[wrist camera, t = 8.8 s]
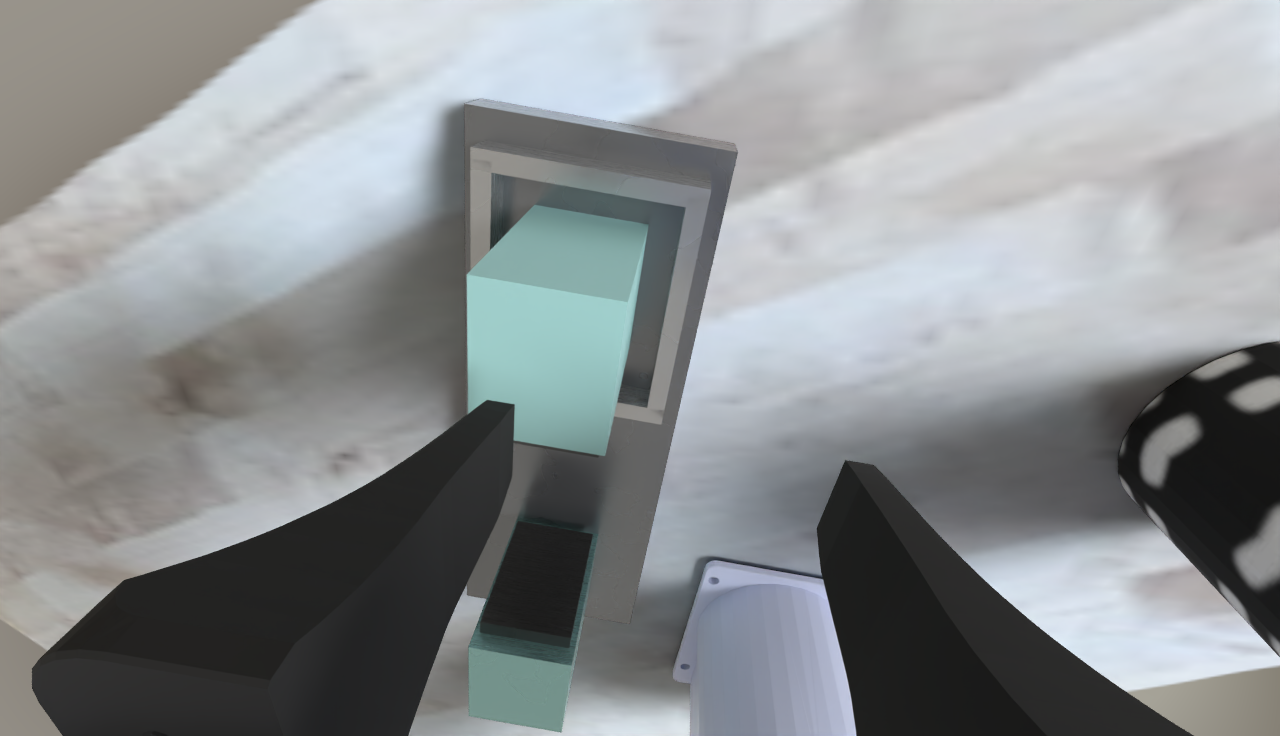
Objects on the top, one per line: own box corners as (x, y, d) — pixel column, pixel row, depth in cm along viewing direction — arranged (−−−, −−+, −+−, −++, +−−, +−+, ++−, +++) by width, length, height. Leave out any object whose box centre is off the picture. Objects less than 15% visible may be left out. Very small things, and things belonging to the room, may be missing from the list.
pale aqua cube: (534, 204, 18) (466, 274, 13) (648, 224, 18) (627, 302, 13) (527, 344, 20) (468, 450, 15) (627, 362, 20) (602, 473, 15)
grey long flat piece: (632, 597, 29) (613, 759, 22) (477, 570, 29) (413, 724, 22) (734, 143, 18) (755, 205, 11) (481, 98, 18) (356, 134, 11)
